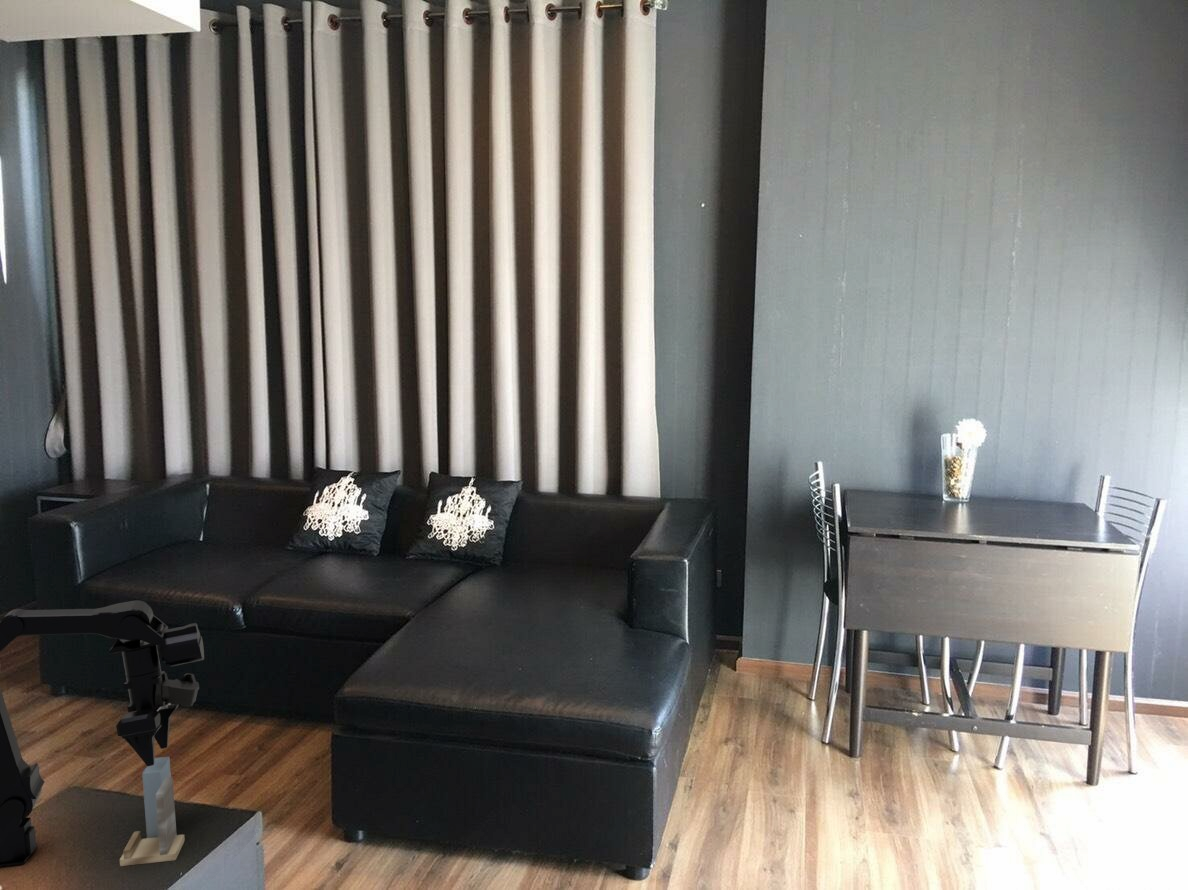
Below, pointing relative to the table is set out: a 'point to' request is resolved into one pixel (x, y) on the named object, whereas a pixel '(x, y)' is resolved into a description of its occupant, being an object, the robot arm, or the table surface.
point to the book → (154, 791)
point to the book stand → (167, 841)
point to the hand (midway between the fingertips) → (157, 756)
